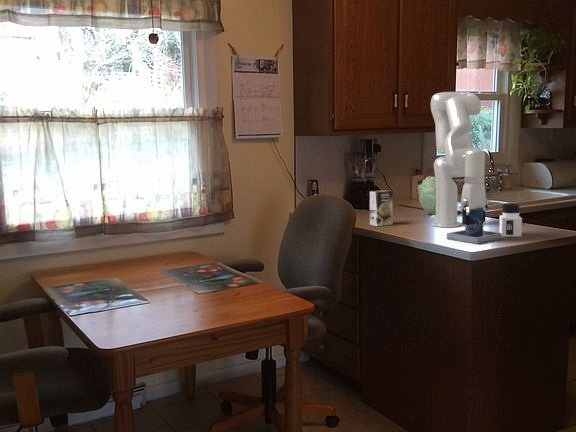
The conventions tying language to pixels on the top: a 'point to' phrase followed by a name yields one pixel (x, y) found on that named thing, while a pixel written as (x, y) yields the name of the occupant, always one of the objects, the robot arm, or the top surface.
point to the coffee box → (381, 208)
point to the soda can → (475, 223)
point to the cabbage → (428, 195)
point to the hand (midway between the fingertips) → (473, 223)
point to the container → (510, 220)
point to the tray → (485, 238)
